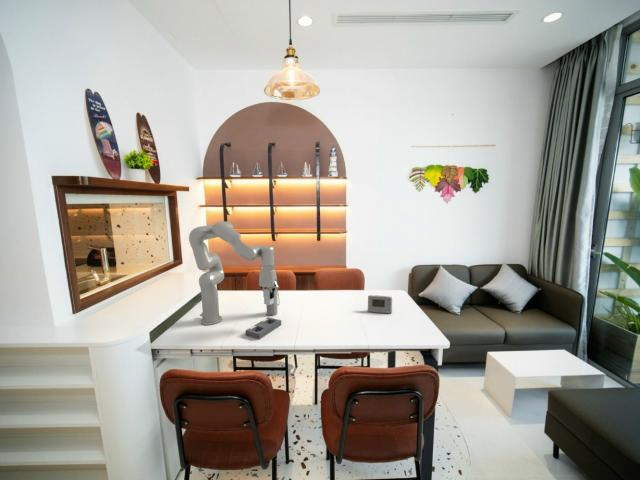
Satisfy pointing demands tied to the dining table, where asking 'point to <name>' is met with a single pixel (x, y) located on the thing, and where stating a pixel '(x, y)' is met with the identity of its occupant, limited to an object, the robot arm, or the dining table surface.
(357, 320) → the dining table surface
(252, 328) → the panel
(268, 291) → the plug
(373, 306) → the digital clock
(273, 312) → the water bottle
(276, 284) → the robot arm
